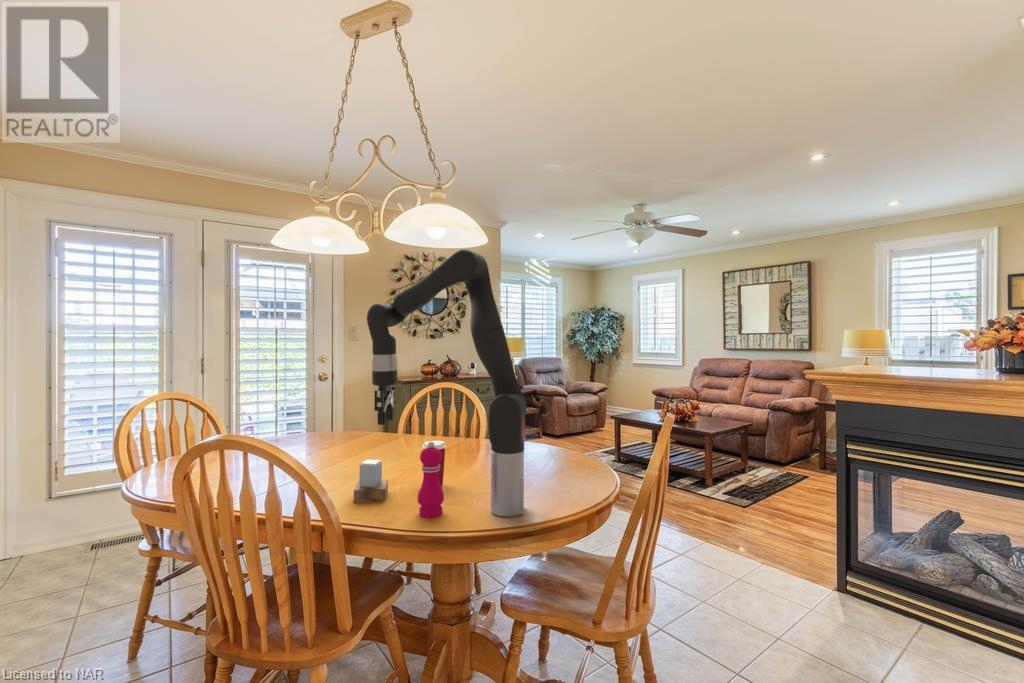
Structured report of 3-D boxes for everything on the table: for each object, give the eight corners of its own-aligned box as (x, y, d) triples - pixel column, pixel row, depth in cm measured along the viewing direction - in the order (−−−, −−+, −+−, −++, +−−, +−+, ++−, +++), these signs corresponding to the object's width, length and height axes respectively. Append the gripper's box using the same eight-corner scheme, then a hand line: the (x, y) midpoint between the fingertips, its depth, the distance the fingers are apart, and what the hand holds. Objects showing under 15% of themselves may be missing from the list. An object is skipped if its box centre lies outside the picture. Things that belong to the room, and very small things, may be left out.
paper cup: (449, 482, 162) (449, 441, 161) (440, 490, 154) (440, 446, 154) (428, 480, 164) (428, 439, 164) (417, 487, 156) (417, 444, 156)
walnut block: (387, 492, 153) (387, 479, 153) (385, 502, 144) (385, 488, 144) (358, 493, 151) (358, 481, 151) (353, 503, 143) (353, 490, 142)
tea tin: (381, 482, 150) (382, 460, 150) (375, 487, 145) (375, 464, 145) (366, 481, 150) (366, 459, 150) (359, 486, 145) (359, 463, 145)
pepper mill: (412, 513, 134) (412, 441, 134) (434, 507, 139) (434, 437, 139) (427, 521, 129) (427, 446, 128) (449, 514, 134) (449, 441, 134)
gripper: (390, 370, 141) (391, 426, 141) (402, 367, 156) (403, 418, 156) (365, 371, 141) (366, 426, 142) (379, 367, 156) (380, 418, 156)
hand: (385, 422), depth 149 cm, fingers open, 8 cm apart
